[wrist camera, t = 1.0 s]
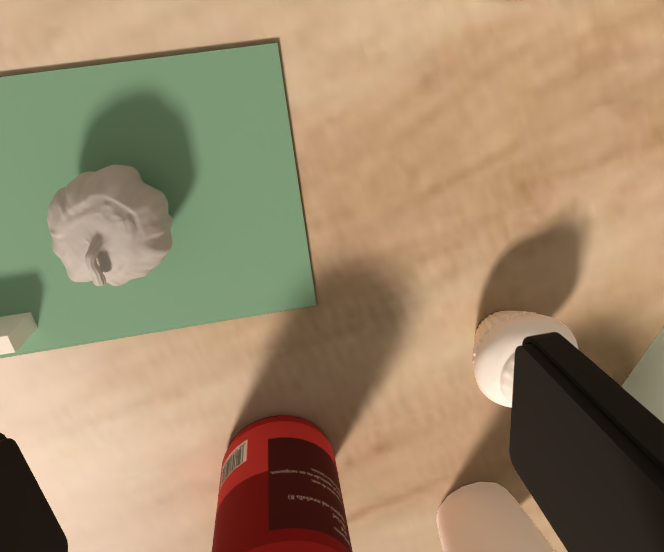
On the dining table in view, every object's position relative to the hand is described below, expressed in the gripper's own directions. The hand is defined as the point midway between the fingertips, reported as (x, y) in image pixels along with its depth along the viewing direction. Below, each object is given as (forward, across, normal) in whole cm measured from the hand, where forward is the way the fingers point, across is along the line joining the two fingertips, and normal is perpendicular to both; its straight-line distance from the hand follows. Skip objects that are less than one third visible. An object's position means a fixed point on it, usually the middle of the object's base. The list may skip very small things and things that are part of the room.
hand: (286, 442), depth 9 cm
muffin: (+18, -13, +10) cm, 24 cm away
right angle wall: (+18, -28, +19) cm, 39 cm away
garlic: (+18, +7, -1) cm, 19 cm away
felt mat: (+18, +11, -1) cm, 21 cm away
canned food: (+18, +2, +18) cm, 25 cm away
